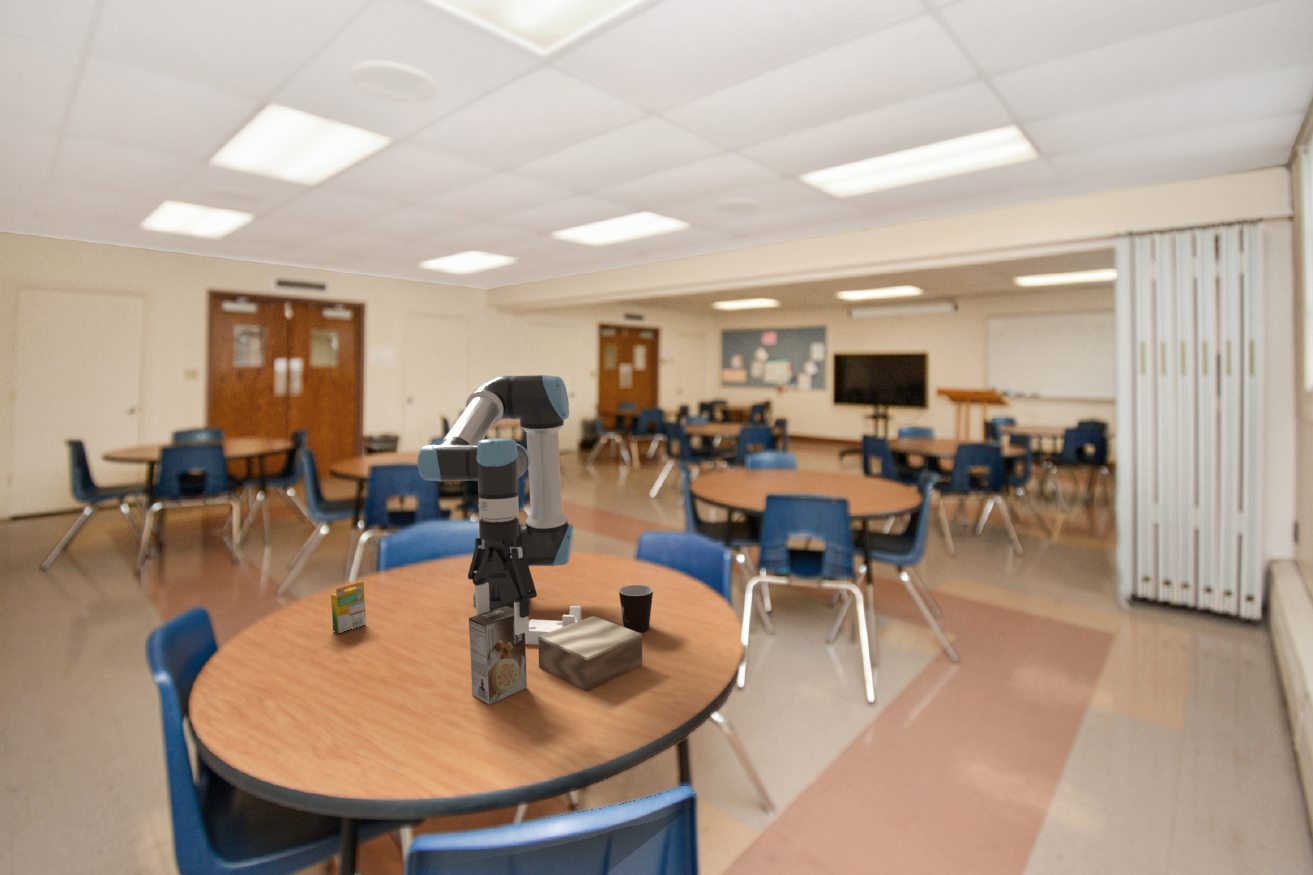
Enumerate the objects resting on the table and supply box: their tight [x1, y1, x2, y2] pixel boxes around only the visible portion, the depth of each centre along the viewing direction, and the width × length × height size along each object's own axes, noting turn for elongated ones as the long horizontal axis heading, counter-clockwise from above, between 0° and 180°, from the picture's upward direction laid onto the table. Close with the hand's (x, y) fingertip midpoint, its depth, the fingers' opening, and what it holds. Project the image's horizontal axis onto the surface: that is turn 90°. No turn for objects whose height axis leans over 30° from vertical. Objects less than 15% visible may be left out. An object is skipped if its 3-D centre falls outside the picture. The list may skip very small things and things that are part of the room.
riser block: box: [538, 615, 643, 692], centre depth 136 cm, size 16×16×7 cm
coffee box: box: [468, 606, 528, 705], centre depth 124 cm, size 9×6×16 cm
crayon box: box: [330, 581, 367, 634], centre depth 158 cm, size 7×3×12 cm, turn 145°
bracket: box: [525, 605, 582, 646], centre depth 151 cm, size 13×7×8 cm, turn 81°
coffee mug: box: [618, 584, 654, 634], centre depth 158 cm, size 12×9×10 cm
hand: (501, 623), depth 123 cm, fingers open, 13 cm apart
